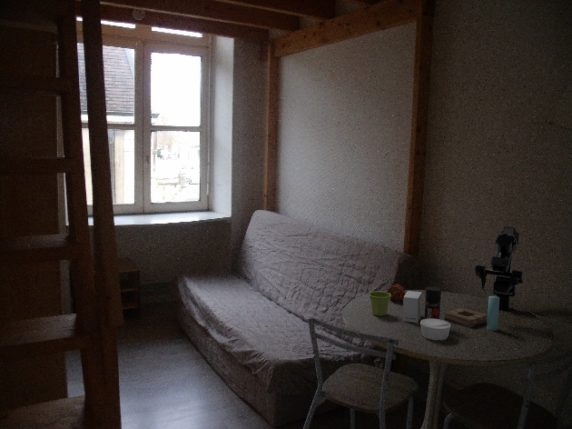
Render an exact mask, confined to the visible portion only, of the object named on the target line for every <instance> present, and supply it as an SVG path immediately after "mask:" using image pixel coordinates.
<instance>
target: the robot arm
mask: <svg viewBox="0 0 572 429" xmlns="http://www.w3.org/2000/svg"><path fill="white" fill-rule="evenodd" d="M494 244H495V245H496V250H497V253H496V256H494V255H493V256H491V260H490V266H491V269H489V268H487V266H486V265H482V264H477V265H475V267H474V269H473V270H474V273H475V276H476V277H478V278H479V279H480V281H481V289H482V291H483V290H484V289H485V286H486V282H487V275H491V276H495V280H494V281H493V287H492V288H493V290H492V294H493V295H494V296H497V297H499V298H500V300H499V310H502V311H508V310H511V309H513V306H510V303H511V297H512V298H513V297H516V288H517V287H516V285H520V284H524V280H525V276H524V272H523V270H517V269H511V268H512V264H513V263H512V262H513V254H514V252H516V250H517V249H518V245H520V233H519V232H518V231H517V230H516V227H515V226H504V227H503V230H501V231H500V233H499V234H498V236H496V238H495V243H494ZM511 270H512V271H511Z"/></svg>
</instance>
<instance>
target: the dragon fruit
mask: <svg viewBox="0 0 572 429" xmlns="http://www.w3.org/2000/svg"><path fill="white" fill-rule="evenodd" d="M385 292H386V293H389V294H391V297H390V299H389V301H390V300H391V301H393V302H396V303H398V302H400V301H403V300H404V296H405V294H406V289H405V287H404V286H401V284H399V283H395V284H393V285H390V286H389V287H388V289H387V290H386V291H385Z"/></svg>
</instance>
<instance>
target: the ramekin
mask: <svg viewBox="0 0 572 429" xmlns="http://www.w3.org/2000/svg"><path fill="white" fill-rule="evenodd" d="M419 323H420V324H419V325H420V328H421V335H422V337H424V338H425V339H427V340H430V339H431V340H432V341H437V340H440V341H445V340H447V339H448V337H449V333H450V331H451V323H449V321H447V320H445V319H440V320H439V319H420V322H419ZM431 340H430V341H431Z"/></svg>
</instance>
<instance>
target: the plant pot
mask: <svg viewBox="0 0 572 429" xmlns="http://www.w3.org/2000/svg"><path fill="white" fill-rule="evenodd" d="M386 292H387V291H371V292H369V293H368V295H369V298H370V303H371V311H372V312H371V313H372V315H374V316H380V317H381V316H386V315H387V314H388V308H389V304H390V303H389V301H390V297H391V294H389V293H386Z"/></svg>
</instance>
